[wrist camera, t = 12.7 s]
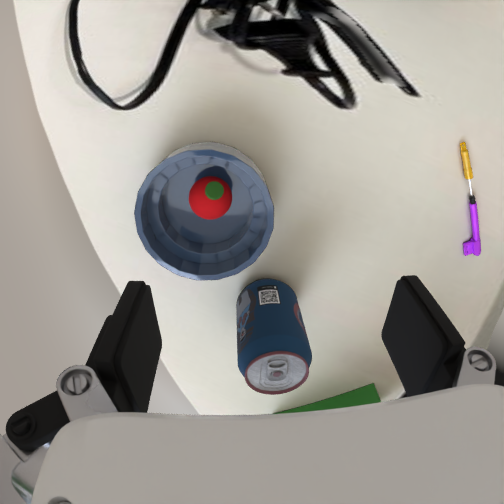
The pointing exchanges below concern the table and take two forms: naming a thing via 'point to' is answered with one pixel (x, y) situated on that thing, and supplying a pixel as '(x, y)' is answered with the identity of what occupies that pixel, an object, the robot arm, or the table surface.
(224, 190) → the tomato
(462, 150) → the purple yellow rod
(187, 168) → the bowl
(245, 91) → the table surface
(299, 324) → the soda can
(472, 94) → the table surface
